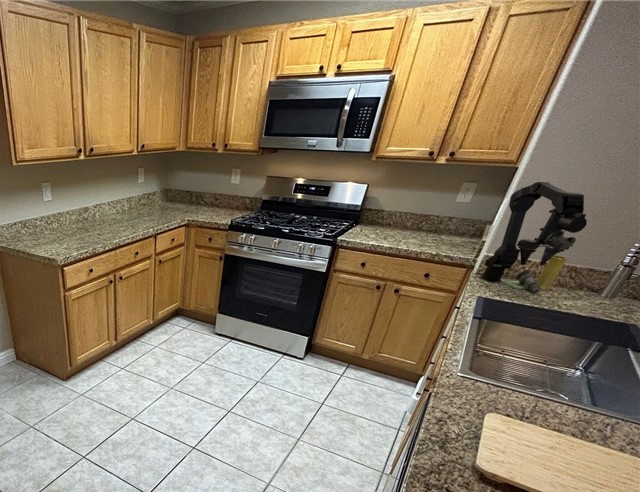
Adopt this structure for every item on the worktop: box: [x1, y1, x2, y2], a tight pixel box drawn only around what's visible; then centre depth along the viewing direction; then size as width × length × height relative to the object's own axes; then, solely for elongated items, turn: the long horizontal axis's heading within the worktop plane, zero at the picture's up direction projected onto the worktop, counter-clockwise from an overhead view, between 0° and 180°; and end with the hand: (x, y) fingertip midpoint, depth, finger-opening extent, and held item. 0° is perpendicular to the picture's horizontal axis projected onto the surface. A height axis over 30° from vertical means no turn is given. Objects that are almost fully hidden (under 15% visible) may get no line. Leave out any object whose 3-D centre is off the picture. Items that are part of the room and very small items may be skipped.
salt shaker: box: [515, 270, 542, 293], centre depth 186 cm, size 6×6×12 cm
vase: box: [535, 254, 568, 291], centre depth 187 cm, size 6×6×14 cm
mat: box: [501, 280, 529, 290], centre depth 192 cm, size 8×9×1 cm
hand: (531, 264), depth 176 cm, fingers open, 9 cm apart
